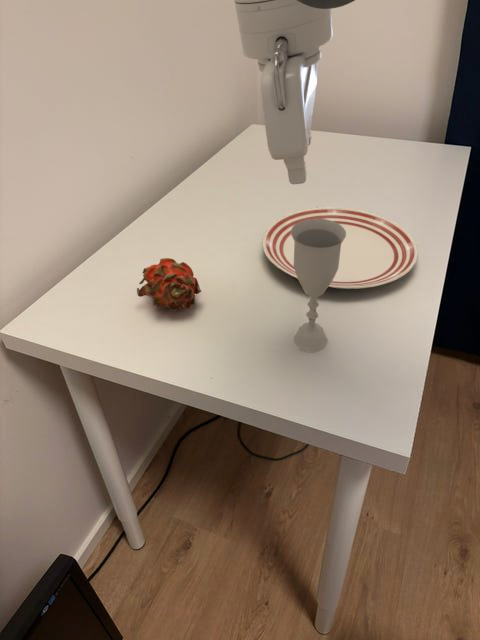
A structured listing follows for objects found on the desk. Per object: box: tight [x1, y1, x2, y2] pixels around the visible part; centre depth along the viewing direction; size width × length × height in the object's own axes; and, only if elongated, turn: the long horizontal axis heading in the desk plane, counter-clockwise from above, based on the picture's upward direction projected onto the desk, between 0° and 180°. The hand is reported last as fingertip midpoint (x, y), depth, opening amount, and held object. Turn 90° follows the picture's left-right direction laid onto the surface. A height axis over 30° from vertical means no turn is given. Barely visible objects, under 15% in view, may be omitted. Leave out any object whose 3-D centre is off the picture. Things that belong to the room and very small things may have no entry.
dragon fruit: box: [136, 257, 202, 311], centre depth 78 cm, size 8×8×12 cm
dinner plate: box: [261, 206, 419, 290], centre depth 88 cm, size 27×27×3 cm
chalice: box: [291, 218, 346, 353], centre depth 66 cm, size 7×7×18 cm
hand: (301, 161), depth 56 cm, fingers open, 8 cm apart
